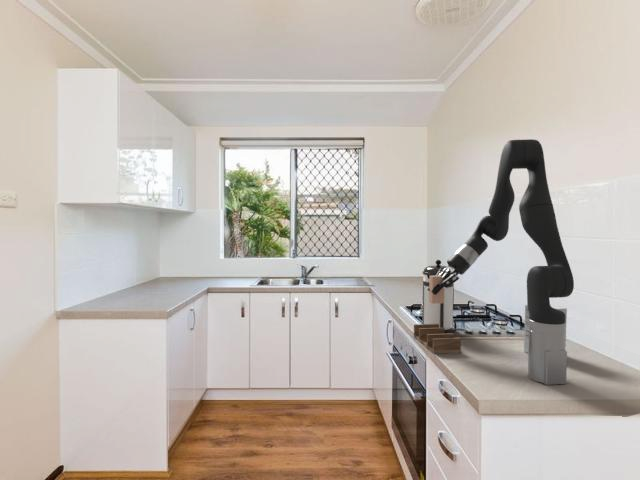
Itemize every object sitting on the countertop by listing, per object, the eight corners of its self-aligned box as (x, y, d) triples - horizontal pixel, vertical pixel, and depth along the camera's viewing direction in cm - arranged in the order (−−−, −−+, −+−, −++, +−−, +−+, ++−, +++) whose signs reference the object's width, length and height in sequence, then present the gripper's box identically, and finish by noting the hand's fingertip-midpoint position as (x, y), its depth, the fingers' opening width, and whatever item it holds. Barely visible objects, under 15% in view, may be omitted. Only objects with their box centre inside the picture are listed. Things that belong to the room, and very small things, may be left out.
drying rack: (460, 352, 140) (461, 338, 140) (433, 353, 139) (433, 339, 139) (437, 336, 160) (437, 323, 160) (413, 336, 159) (413, 324, 159)
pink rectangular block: (443, 303, 148) (444, 276, 147) (432, 303, 147) (432, 276, 147) (440, 301, 151) (440, 275, 150) (429, 301, 150) (429, 275, 150)
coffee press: (462, 336, 160) (463, 261, 159) (422, 335, 162) (422, 261, 160) (452, 324, 177) (453, 257, 176) (416, 323, 179) (417, 257, 178)
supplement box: (546, 360, 132) (547, 310, 132) (522, 351, 141) (523, 304, 140) (566, 356, 136) (567, 307, 135) (542, 348, 145) (543, 302, 144)
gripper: (448, 250, 156) (417, 282, 155) (465, 253, 142) (431, 288, 141) (460, 264, 157) (430, 295, 156) (478, 268, 143) (445, 303, 142)
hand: (431, 292), depth 148 cm, fingers closed on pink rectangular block, 3 cm apart
